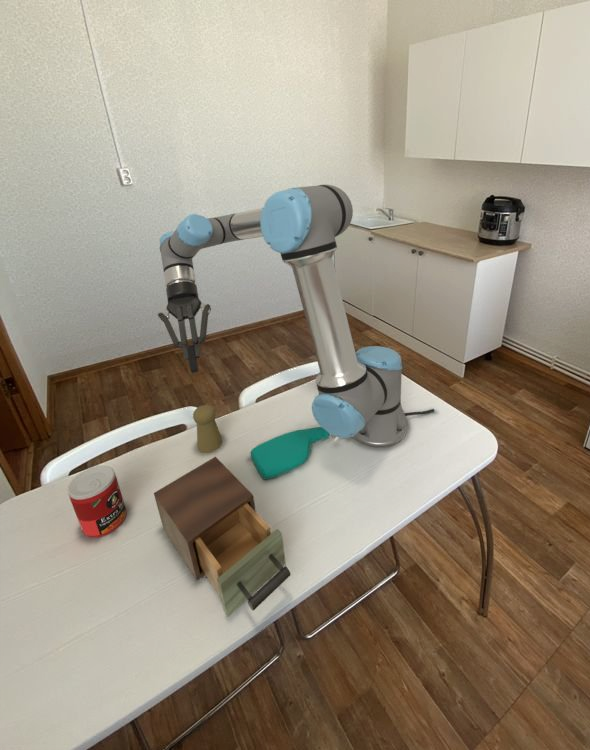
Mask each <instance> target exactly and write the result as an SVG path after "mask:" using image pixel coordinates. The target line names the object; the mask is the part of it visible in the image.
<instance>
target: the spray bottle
mask: <svg viewBox="0 0 590 750" xmlns="http://www.w3.org/2000/svg"><path fill="white" fill-rule="evenodd" d="M330 436H331V434H330V433H328V432H327V431H326V430H325V429H323V428H322V427H321V426H318V427H310V428H305V429H297V430H292V431H289V432H286V433H284V434H280V435H278V436H276V437H273V438H271V439H268V440H267V441H264V442H262V443H260V444H258V445H256V446H255V447H253V448H252V449H251V450H250V459H251V461H252V463H253V464H254V466H255V469H256V470H257V472H258V474H259V475H260V476H261V478H263V479H264V480H268V479H272V478H275V477H277V476H280V475H282V474H285V473H288V472H290V471H292V470H294V469H297V468H298V467H300V466H301V465H303V464H305V463H306V461H308V459H309V457H310V455H311V447H312V444H315V443H316V442H320V441H322V440H323V439H329V438H330ZM338 439H340V438H339V437H336V436H335V438H334V440H333V441H334V442H337V441H338Z"/></svg>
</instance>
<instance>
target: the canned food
mask: <svg viewBox="0 0 590 750" xmlns="http://www.w3.org/2000/svg"><path fill="white" fill-rule="evenodd" d="M67 494H68V497H69V500H70V503H71V505H72V509H73V510H74V512H75V516H76V519H77V522H78V523H79V526H80V529H81V531H82V533H83V534H84V535H85V536H86V537H88V538H92V539H93V538H94V539H95V538H101V537H105V536H107V535H109V534H111V533H112V532H114V531H115V530H117V529H118V528H119V527H120V526H121V524H122V523H123V522H124V521H125V518H126V512H127V507H126V504H125V501H124V498H123V495H122V491H121V488H120V483H119V481H118V478H117V475H116V472H115V470H114V469H113V467H111V466H109V465H96V466H92V467H90V468H87V469H85V470H83V471H81V472H80V473H78V474H77V475H76V476H75V477H73V478H72V479H71V481H70V482H69V484H68V486H67Z"/></svg>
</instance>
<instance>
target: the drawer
mask: <svg viewBox="0 0 590 750" xmlns="http://www.w3.org/2000/svg"><path fill="white" fill-rule="evenodd" d="M193 546H194V550H195V554H196V558H197V562H198V564H199V566H200V567H201V569H202V570H203V572H204V573H205V576H206V577H207V580H209V582H210V583H211V585H212V586H213V588H214V589H215V591H216V592H217V593H218V596H219V597H220V600H221V606H222V611H223V613H224V614H225V616H226V617H229V616H230V615H232V614H233V612H235V611H236V610H237V609H238V608H239V607H240V606H241V605H243V603H244V602H246V601H247V604H248V607H249V609H250V610H251V611H253V612H254V611H255V610H256V609H258V607H259V606H260V605H261V604H263V603H264V601H266V599H268V597H270V596H271V595H272V594H273V593H274V592H275V591H276V590H277V589H278V588H279V587H280V586H281V585H282V584H283V583H284V582H285V581H286V580H287V579H289V578H290V577H291V575H292V574H291V571H290V570H289V569H290V568H288V567H287V566H286V559H285V557H286V556H285V549H284V542H283V533H282V531H281V530H280V529H279V528H276V529H275V530H274V531H272V533H271V527H270V525H269V524H267V522H266V521H265V520H264V519H263V518H262V517H261V516H260V515H259V514H258V513H257V511H256V512H255V511H254V510H253V509H252V508H251V507H250V506H249V504H248V503H246V504H245V505H243V506H242V507H240V508H239V509H238V510H236V511H235V512H234V513H232V514H231V515H229V516H228V517H227V518H225V519H224V520H222V521H221V522H220V523H218V524H217V525H216V526H214V527H213V528H211V529H210V530H209V531H207V532H206V533H205V534H203V535H202V536H200V537H199V538H198V539H196V540H195V541H193ZM284 565H285V566H284Z"/></svg>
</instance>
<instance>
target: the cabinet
mask: <svg viewBox="0 0 590 750" xmlns="http://www.w3.org/2000/svg"><path fill="white" fill-rule="evenodd" d="M153 496H154V500H155V504H156V507H157V510H158V514H159V518H160V522H161V526H162V529H163V531H164V532H165V534H166V535H167V537H168V539H169V541H170V542H171V543H172V545H173V546H174V548H175V550H176V551H177V553H178V554H179V555H180V558H182V560H183V562H184V563H185V565H186V566H187V568H188V569H189V571H190V573H191V574H192V576H193V577H194V579H195V581H198V580H200V579H201V578H202V577H204V576H206V574H205V573H204V572H203V570H202V569H201V567H200V566H199V564H198V562H197V558H196V554H195V550H194V546H193V541H195V540H196V539H198V538H199V537H200V536H202V535H203V534H205V533H206V532H207V531H209V530H210V529H211V528H213V527H214V526H216V525H217V524H218V523H220V522H221V521H222V520H224V519H225V518H227V517H228V516H229V515H231V514H232V513H234V512H235V511H236V510H238V509H239V508H240V507H242V506H243V505H245V504H246V503H248V504H249V506H250V507H251V508H252V509H253V510H254V511H255V512H256V513H257V511H256V504H255V497H254V494H253V493H252V492H251V491H250V490H249V489H248V488H247V487H246V485H244V484H243V482H241V481H240V480H239V479H238V477H236V476H235V475H234V473H233V472H232V471H230V469H228V468H227V467H226V466H225V464H224V463H223V462H222V461H221V460H220V459H219V458H218V457H217V456H214V457H212V458H210V459H209V460H206V461H205V462H203V463H202V464H200V465H199V466H197V467H196V468H194V469H192V470H190V471H189V472H186V473H185V474H183V475H181V476H180V477H178V478H177V479H175V480H173V481H172V482H170V483H168V484H167V485H165V486H163V487H162V488H160V489H158V490H156V491H155V492H154V493H153Z"/></svg>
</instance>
